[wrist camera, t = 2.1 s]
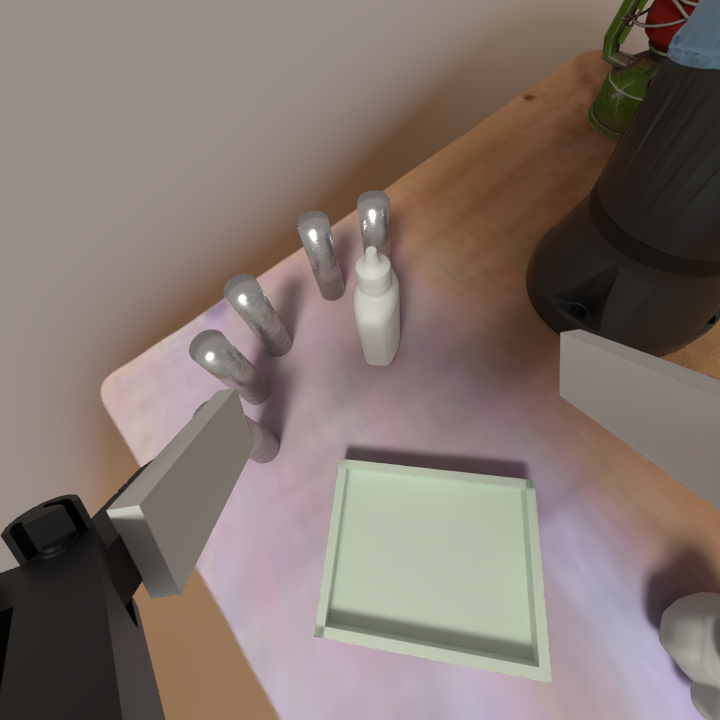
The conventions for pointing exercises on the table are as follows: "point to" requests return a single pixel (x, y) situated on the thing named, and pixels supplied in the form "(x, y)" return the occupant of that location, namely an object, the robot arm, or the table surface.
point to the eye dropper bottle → (377, 307)
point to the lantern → (634, 61)
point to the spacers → (263, 319)
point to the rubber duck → (696, 646)
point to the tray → (436, 568)
